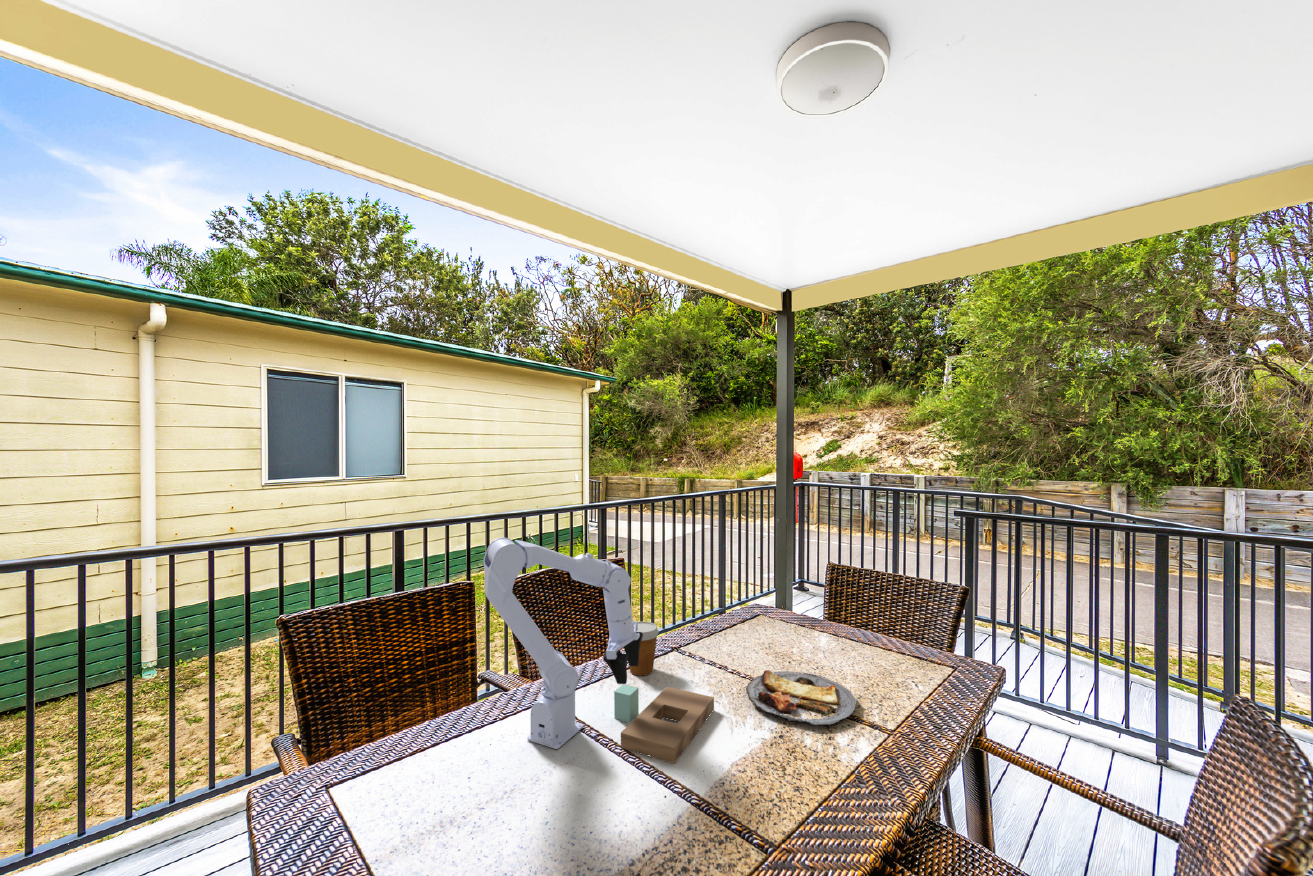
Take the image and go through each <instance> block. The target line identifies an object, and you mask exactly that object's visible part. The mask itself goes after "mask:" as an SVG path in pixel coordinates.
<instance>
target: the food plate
mask: <svg viewBox="0 0 1313 876" xmlns="http://www.w3.org/2000/svg"><path fill="white" fill-rule="evenodd" d="M745 692H746V694H747V697H748V700H749V701H750V702H751V703H752V705H753V706H755V707H759V708H760V709H761V711H762V712H766V713H770V714H771V715H773V714H774V715H777V716H780V717H781V718H782V719H783V718H784V719H787V721H789V722H790V721H791V722H792V721H795V722H800V723H803V722H806V723H809V724H811V725H816V726H818V725H822V726H823V725H833V724H835V723H838V722H840V720H844V719H846V718H847V717H848V718H849V717H850V716H851V715H852V714H853V713H854V711H855V710H856V704H857V701H858V700H857V698H856V697H855V695H853V692H851V691H850V690H849V689H848V688H847V687H846V686H844V685H842V684H841V683H839V682H836V681H834V680H831V679H829V678H828V677H825V676H822V675H818V674H814V673H808V672H807V673H805V672H799V671H792V670H791V671H789V670H788V671H785V670H783V671H773V672H772V671H770V670H769V669H768V670H767V669H765V670H764V671H763V673H762V674H761V675H758V676H756V677H755V678H753V679H752V680H751V681H750V682H748V684H747V685H746V687H745ZM834 706H836V709H835V713H834V714H832V715H831V713H832V712H833V708H834ZM812 712H813V713H816V714H821V715H824V716H826V717H823V718H811V719H810V718H809V719H808V718H802V717H801V718H800V717H797V718H796V717H795V715H792V716H793V717H792V716H790V715H788V716H787V715H784V714H796V716H798V715H800V714H807V713H809V714H811V713H812ZM782 713H784V714H782ZM780 714H781V715H780ZM797 714H798V715H797ZM828 714H829V715H830V716H827V715H828Z"/></svg>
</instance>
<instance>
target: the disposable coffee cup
mask: <svg viewBox="0 0 1313 876" xmlns="http://www.w3.org/2000/svg"><path fill="white" fill-rule="evenodd" d="M636 622H637V624H638V630H637V631H636V632H642V633H643V637H642V640H641V644H640V651H639V663H638V666H629V672H630V674H631V675H633V674H634V676H637V675H638V677H639V676H640V677H643V676H642V675H645V676H648V675H647V674H649V675H651V674H652V673H653V672H654V666H655V665H654V664H655V657H656V656H655V655H656V646H657V639H658V638H657V637H658V635H659V629H658V625H657V624H655V623H653V622H651V621H636ZM650 673H651V674H650Z"/></svg>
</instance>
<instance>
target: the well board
mask: <svg viewBox="0 0 1313 876" xmlns="http://www.w3.org/2000/svg"><path fill="white" fill-rule="evenodd" d="M714 697H715V696H714ZM714 697H713V696H710V695H706V694H702V693H697V692H693V691H688V690H683V689H680V688H675V687H670V686H666V687H665V688H664V689H663V690H662V691H661V692H660V693H659V694H658V695H657V696H656V697H655V698H654V699H653V700H652V701H651V702H650V703H649V704H648V705H647V706H646V707H645V708H644V709H643V710H642V711H641V712H640V713H639V714H638V715H637V716H636V717H635V718H634V719H633V720H632V721H631V722H630V723H629V724H628V725H627V726H626V727H625V728H624V729H623V730H622V731H621V732H620V748H621V747H622V748H621V749H624V750H627V751H630V752H633V751H635V752H634V753H637V752H638V753H637V754H640V753H641V754H640V755H643V754H644V756H647V755H650V756H651V758H653V757H654V759H656V760H657V759H658V760H660V761H663V760H664V761H663V762H668V763H671V764H673V765H676V763H677V762H678V760H679V759H680V758H681V756H682V755H683V754H684V752H685V750H686V749H687V748H688V747H689V744H690V743H691V742H692V741H693V740H694V738H695V737H696V735H697V734H698V733H697V732H699V731H700V730H701V729H702V727H703V726H704V725H705V723H706V722H707V721H706V719H707V718H708V717H709V718H710V716H711V715H712V714H713V712H714V711H715V700H714V699H715V698H714ZM713 710H714V711H713ZM712 711H713V712H712ZM711 713H712V714H711ZM710 714H711V715H710ZM709 715H710V716H709ZM663 718H664V719H666V718H668V720H670V719H673V720H672V721H674V720H676V721H675V723H674V722H671V721H668V720H664V719H663ZM709 718H708V719H709ZM662 719H663V720H662ZM708 719H707V720H708ZM678 721H679V722H678ZM705 721H706V722H705ZM676 722H677V723H676ZM703 724H704V725H703ZM702 725H703V726H702ZM700 728H701V729H700ZM699 729H700V730H699ZM650 756H649V757H650Z"/></svg>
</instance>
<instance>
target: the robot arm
mask: <svg viewBox="0 0 1313 876" xmlns="http://www.w3.org/2000/svg"><path fill="white" fill-rule="evenodd" d="M514 541H515V542H516V543H515V542H514ZM514 541H513V540H512V539H510V538H507V537H505V536H503V537H498V538H495V539H493V540H492V541H491V542H490V544H489V545H488V547H487V548H486V552H485V554H484V556H483V567H484V568H483V569H484V572H483V573H484V594H485V596H486V598H487V600H488V601H489V603H490V604H491V605H492V607H493V608H494V610H495V611H496V612H497V614H499V616H500V617H501V618H502V620H503V621H504V622H505V624H506V625H507V626H508V628H509V629H510V631H511V632H512V633H513V635H515V637H516V638H517V639H518V641H519V642H520V643H521V645H522V646H523V647H524V649H525V650H526V651H527V653H528V654H529V656H530V657H531V658H532V659H533V661H534V662H535V664H536V665H537V666H538V673H539V675H540V676H541V678H542V679H543V682H542V685H541V688H540V695H539V697H538V698H537V700H536V702H535V703H534V704H533V705H532V706H531V708H530V734H529V736H527V737H526V738H527V741H529V742H533V743H536V744H538V745H539V744H540V745H542V746H544V747H547V748H551V749H555V750H558V749H560V748H561V747H562V746H563V745H564V744H566V743H567V742H568V741H569V740H570V739H572V738H573V736H575V735H576V734H577V733H578V732H579V731H581V730H582V729H583V728H584V723H580V722H576V689H577V686H578V683H579V673H578V671H577V670H576V668H574V666H573V665H571V663H570V662H569V661H568V660H567V658H566V656H565V655H564V653H562V652H561V651H558V650H556V649H555V648H554V646H553V645H552V644H551V643H550V641H549V640H548V639H547V638H546V636H545V635H544V634H543V632H542V630H541V629H540V628H539V627H538V625H537V624H536V622H535V621H534V620H533V618H532V617H531V615H530V614H529V613H528V612H527V610H526V609H525V608H524V607H523V605H522V603H521V602H520V601H519V600H518V598H517V597H516V595H515V594H514V593H513V587H514V585H515V582H516V579H517V577H518V576H519V574H520V573H521V572H522V570H523V568H525V569H527V570H528V569H530V568H532V567H534V566H536V565H541V566H546V567H548V568H553V569H556V570H561V571H564V572H567V573H569V574H570V578H571V579H572V580H574V581H577V582H580V583H583V584H586V585H589V586H594V587H598V588H602V591H603V592H602V593H603V598H604V601H603V602H604V606H605V607H604V608H605V614H606V620H607V625H608V626H607V627H608V633H609V634H608V635H609V636H608V637H609V638H608V642H607V643H608V644H607V648H606V650H605V653H604V654H603V656H602V657H603V658H602V659H603V661H604V663H605V664H607V666H608V667H609V669H610V670H611V673H612V675H613V677H614V680H615V682H616V683H617V684H618V685H623V684H625V685H627V682H628V671H627V670H628V669H627V668H628V667H627V666H628V665H629V667H630V666H638V663H639V651H640V644H641V640H642V637H643V633H642V632H636V631H637V630H638V624H637V622H638V621H634V620H633V614H632V613H633V612H632V607H631V601H630V595H629V588H630V586H631V581H632V578H631V576H630V575H629V572H628V571H627V569H625V568H623V567H621V566H619V565H618V564H616V563H613V562H612V561H610V560H608V559H605V560H602V559H598V558H594V555H593V554H592V553H589V552H586V553H585V554H582V553H581V554H578V555H577V556H574V557H573V556H569V555H566V554H564V553H561V552H557V551H555V550H552V549H551V548H550V549H549V548H547V547H544V546H541V545H537V544H535V543H531V542H527V541H524V540H518V539H515V540H514ZM621 649H623V650H624V652H625V653H623V652H622V651H621Z"/></svg>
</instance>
